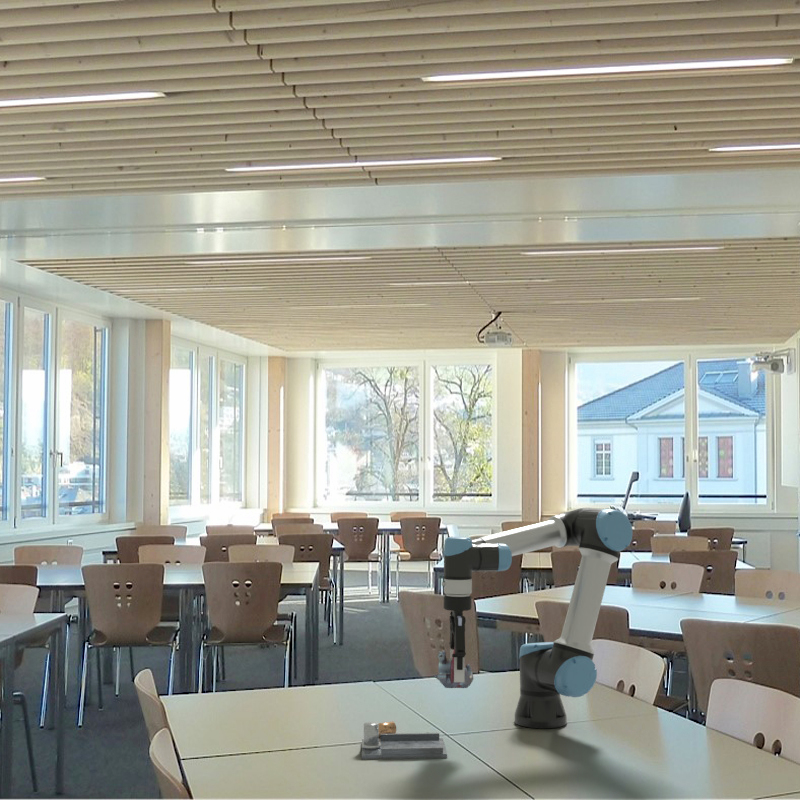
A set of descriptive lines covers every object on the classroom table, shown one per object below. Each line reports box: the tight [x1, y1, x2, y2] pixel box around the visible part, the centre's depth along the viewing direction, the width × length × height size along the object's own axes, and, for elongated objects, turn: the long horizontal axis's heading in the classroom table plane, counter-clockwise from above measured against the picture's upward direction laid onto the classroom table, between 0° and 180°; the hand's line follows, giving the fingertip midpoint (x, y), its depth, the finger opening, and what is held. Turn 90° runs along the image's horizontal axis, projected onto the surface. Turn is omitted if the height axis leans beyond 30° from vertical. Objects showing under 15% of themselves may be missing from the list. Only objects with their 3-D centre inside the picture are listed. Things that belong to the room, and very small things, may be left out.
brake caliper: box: [434, 647, 474, 689], centre depth 290 cm, size 11×11×12 cm
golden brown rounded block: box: [379, 721, 397, 738], centre depth 303 cm, size 6×4×4 cm, turn 122°
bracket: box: [361, 721, 448, 760], centre depth 287 cm, size 22×16×7 cm
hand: (457, 677), depth 289 cm, fingers closed on brake caliper, 11 cm apart
